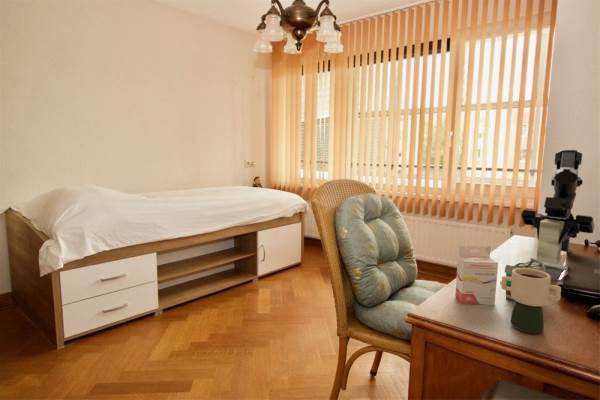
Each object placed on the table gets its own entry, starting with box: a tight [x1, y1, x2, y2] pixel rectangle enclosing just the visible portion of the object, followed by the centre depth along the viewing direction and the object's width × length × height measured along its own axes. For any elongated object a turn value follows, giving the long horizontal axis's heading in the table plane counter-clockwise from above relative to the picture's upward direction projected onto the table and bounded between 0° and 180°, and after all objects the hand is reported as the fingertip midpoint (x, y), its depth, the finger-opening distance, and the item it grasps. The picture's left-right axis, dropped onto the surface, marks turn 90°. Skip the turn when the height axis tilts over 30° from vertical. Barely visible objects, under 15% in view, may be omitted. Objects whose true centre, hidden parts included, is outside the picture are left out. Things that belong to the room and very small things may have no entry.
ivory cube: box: [556, 251, 568, 266], centre depth 118 cm, size 5×5×5 cm
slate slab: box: [542, 262, 568, 282], centre depth 110 cm, size 9×9×3 cm
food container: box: [504, 257, 546, 303], centre depth 90 cm, size 12×6×10 cm, turn 117°
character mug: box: [500, 268, 562, 334], centre depth 76 cm, size 11×7×13 cm, turn 52°
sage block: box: [535, 219, 564, 264], centre depth 109 cm, size 5×5×13 cm
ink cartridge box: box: [455, 245, 499, 306], centre depth 90 cm, size 9×5×15 cm, turn 84°
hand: (548, 241), depth 108 cm, fingers closed on sage block, 5 cm apart
